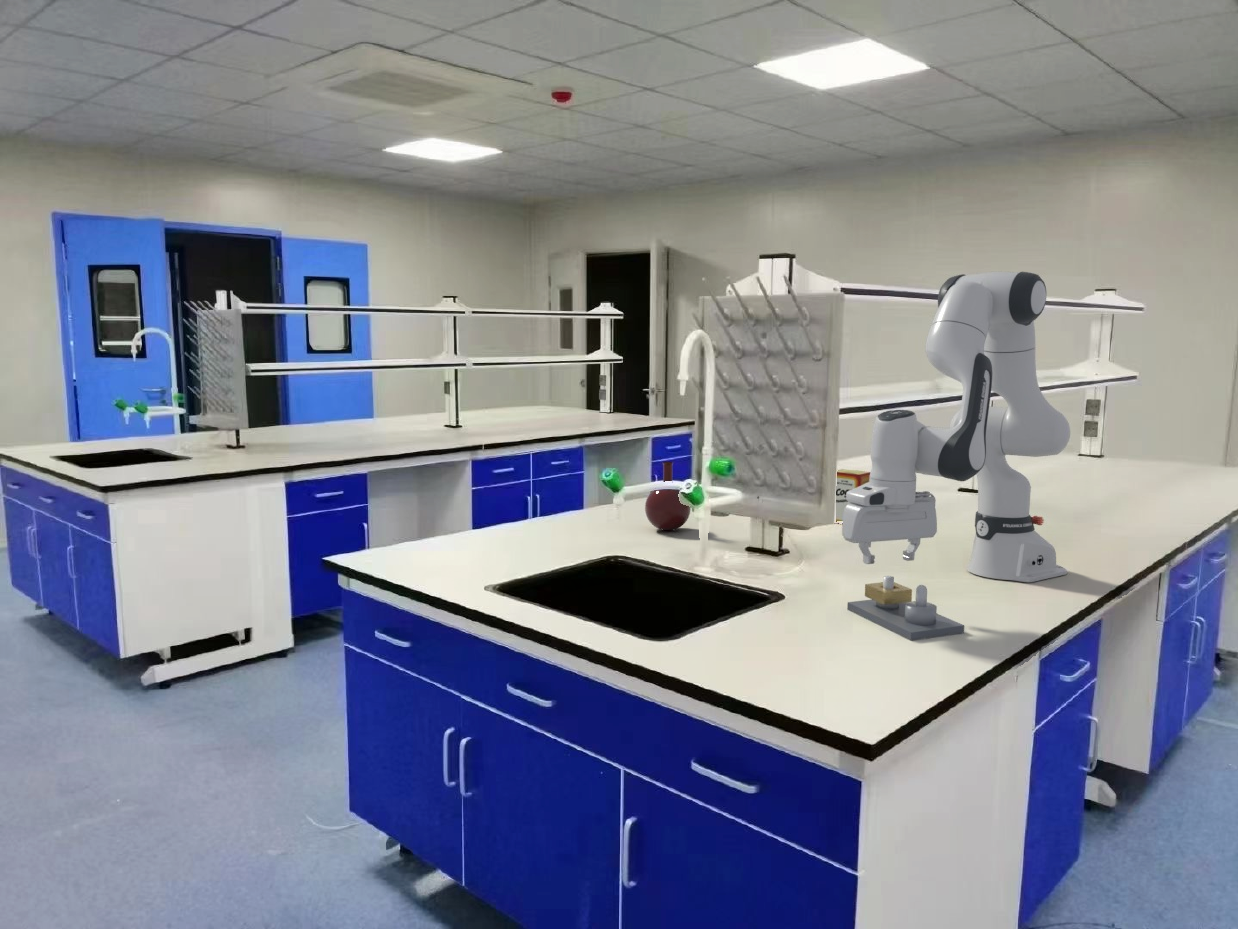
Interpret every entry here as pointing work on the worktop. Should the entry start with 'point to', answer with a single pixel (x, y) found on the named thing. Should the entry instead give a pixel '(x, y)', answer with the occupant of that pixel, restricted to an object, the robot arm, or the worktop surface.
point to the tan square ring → (888, 593)
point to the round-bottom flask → (666, 505)
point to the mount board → (900, 624)
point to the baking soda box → (847, 487)
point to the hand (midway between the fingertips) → (888, 561)
